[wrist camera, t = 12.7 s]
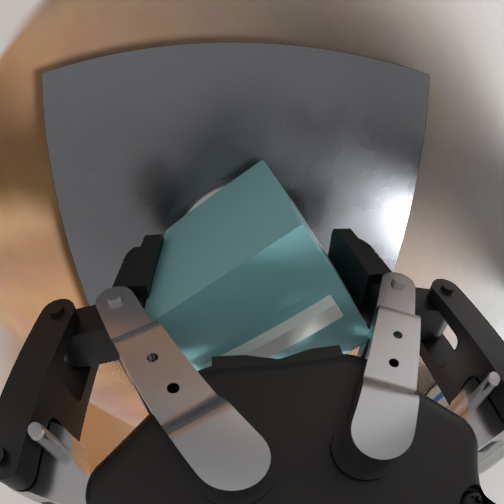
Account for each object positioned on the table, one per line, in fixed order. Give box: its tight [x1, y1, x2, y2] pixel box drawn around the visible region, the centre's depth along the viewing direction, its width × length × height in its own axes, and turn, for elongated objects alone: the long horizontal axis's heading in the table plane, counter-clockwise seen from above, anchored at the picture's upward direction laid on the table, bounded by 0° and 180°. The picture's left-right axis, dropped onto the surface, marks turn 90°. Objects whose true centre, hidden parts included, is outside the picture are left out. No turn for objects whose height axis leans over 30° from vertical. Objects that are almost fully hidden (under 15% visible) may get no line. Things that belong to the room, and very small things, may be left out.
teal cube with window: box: [144, 160, 369, 371], centre depth 11 cm, size 5×5×6 cm
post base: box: [42, 42, 430, 362], centre depth 13 cm, size 18×18×6 cm
